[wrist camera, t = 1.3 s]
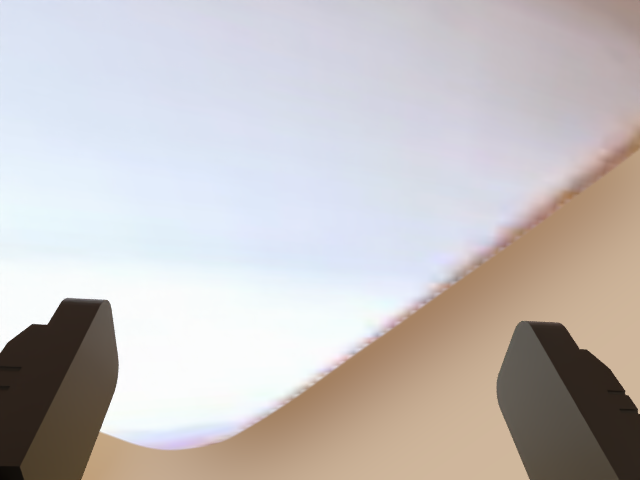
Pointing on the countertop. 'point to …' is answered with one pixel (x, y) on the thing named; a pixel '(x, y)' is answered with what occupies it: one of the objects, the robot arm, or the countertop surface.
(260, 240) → the countertop surface
